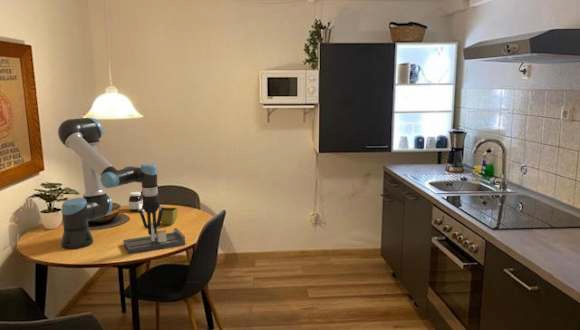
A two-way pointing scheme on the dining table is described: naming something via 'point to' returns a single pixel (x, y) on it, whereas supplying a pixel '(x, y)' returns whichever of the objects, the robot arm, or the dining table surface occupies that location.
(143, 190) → the robot arm
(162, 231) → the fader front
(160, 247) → the grey tray
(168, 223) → the flower pot
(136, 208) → the spread jar
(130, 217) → the dining table surface
